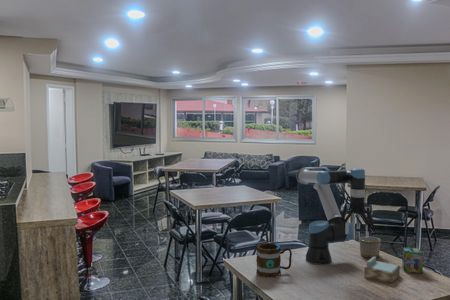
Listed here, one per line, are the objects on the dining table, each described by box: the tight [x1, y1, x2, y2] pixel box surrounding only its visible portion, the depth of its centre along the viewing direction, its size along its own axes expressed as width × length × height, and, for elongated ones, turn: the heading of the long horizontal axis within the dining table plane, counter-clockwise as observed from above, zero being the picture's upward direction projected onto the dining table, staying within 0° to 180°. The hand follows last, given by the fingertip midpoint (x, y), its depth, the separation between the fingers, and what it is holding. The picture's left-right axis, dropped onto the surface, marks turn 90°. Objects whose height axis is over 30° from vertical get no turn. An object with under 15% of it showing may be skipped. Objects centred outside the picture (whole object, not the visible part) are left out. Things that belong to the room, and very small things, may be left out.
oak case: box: [363, 260, 401, 284], centre depth 208 cm, size 14×14×5 cm
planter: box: [359, 235, 381, 259], centre depth 241 cm, size 13×13×10 cm
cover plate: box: [365, 257, 399, 274], centre depth 207 cm, size 13×12×4 cm
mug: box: [256, 242, 293, 279], centre depth 213 cm, size 20×14×15 cm
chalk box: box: [401, 242, 424, 274], centre depth 216 cm, size 9×9×15 cm
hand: (356, 235), depth 216 cm, fingers open, 11 cm apart
